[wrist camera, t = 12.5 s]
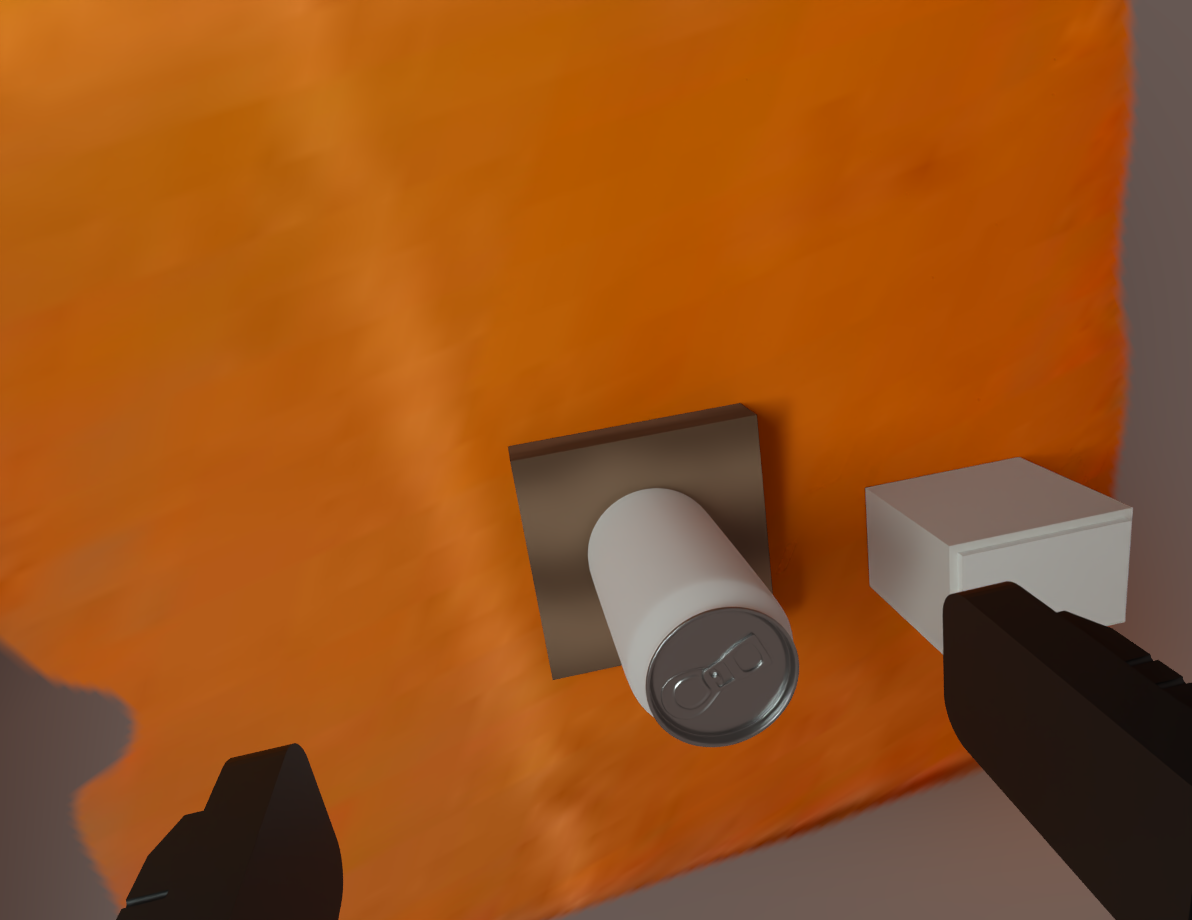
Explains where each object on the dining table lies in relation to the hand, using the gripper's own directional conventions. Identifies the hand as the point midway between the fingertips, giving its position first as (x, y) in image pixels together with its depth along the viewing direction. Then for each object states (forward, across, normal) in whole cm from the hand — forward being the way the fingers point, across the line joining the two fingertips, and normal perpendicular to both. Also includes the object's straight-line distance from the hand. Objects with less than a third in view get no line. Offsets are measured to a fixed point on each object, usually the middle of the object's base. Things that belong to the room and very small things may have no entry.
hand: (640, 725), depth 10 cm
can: (+27, -4, +11) cm, 30 cm away
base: (+30, -4, +12) cm, 32 cm away
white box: (+30, -21, +15) cm, 39 cm away
